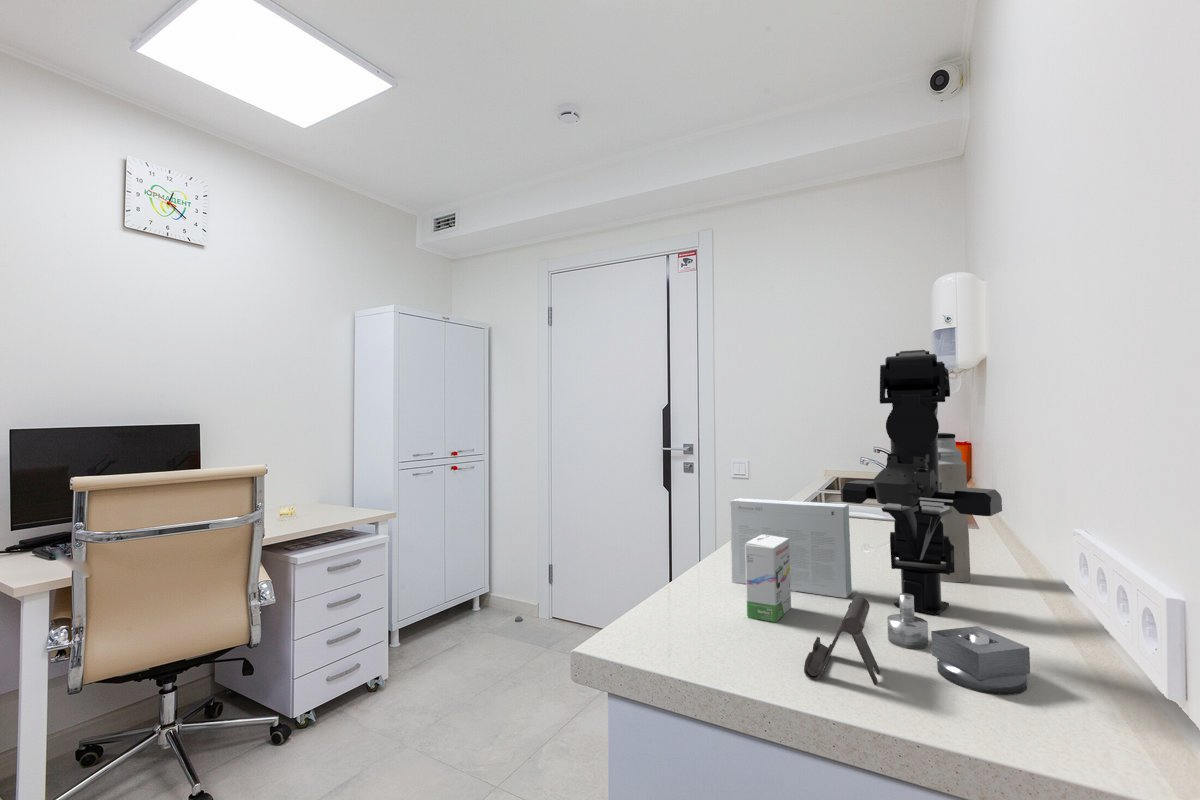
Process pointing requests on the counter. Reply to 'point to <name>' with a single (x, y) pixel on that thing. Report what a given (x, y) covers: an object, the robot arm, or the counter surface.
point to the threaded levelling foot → (907, 626)
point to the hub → (990, 686)
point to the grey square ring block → (980, 653)
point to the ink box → (768, 577)
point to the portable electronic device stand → (850, 625)
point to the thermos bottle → (953, 523)
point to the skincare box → (797, 541)
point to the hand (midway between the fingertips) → (917, 559)
